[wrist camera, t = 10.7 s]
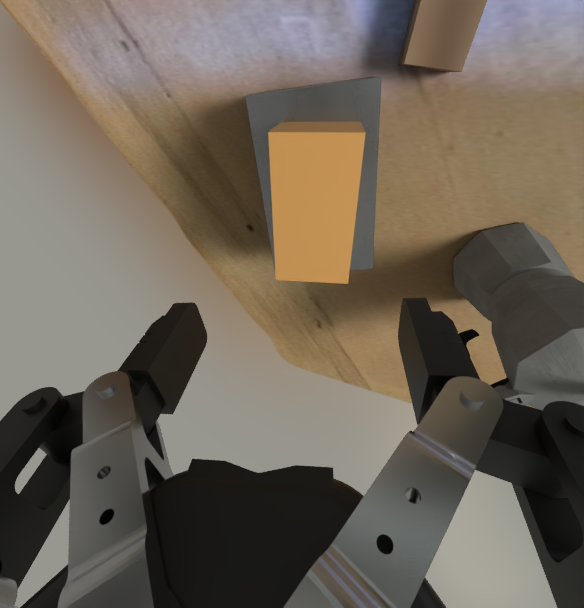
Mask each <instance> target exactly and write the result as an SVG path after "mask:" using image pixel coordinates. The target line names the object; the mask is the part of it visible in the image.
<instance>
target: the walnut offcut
mask: <svg viewBox="0 0 584 608" xmlns="http://www.w3.org/2000/svg"><path fill="white" fill-rule="evenodd" d="M486 2H487V0H414V4H413V8H412V12H411V16H410V20H409V24H408V28H407V32H406V36H405V39H404V43H403V47H402V51H401V55H400V59H399V63H398V65H403V66H410V67H418V68H425V69H432V70H439V71H446V72H462V69H463V66H464V63H465V60H466V58H467V55H468V52H469V49H470V47H471V44H472V41H473V38H474V35H475V33H476V30H477V27H478V24H479V22H480V19H481V16H482V13H483V10H484V8H485V5H486Z"/></svg>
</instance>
